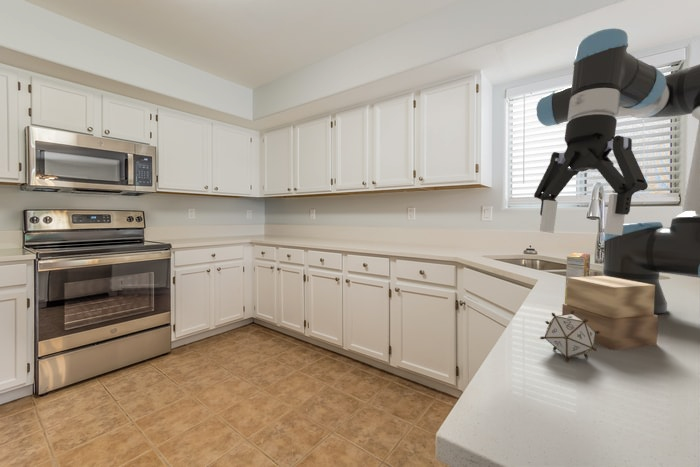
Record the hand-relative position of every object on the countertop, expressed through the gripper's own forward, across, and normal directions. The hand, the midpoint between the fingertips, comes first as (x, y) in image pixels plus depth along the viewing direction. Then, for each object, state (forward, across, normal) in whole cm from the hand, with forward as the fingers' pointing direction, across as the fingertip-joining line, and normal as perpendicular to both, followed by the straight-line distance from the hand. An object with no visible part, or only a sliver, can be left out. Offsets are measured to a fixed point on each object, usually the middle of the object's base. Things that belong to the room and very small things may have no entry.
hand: (576, 233), depth 59 cm
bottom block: (+20, -4, +16) cm, 26 cm away
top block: (+14, -4, +15) cm, 21 cm away
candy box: (+19, -18, +23) cm, 35 cm away
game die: (+23, +2, 0) cm, 23 cm away
